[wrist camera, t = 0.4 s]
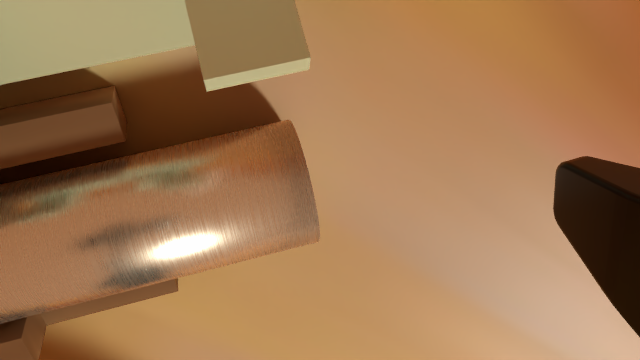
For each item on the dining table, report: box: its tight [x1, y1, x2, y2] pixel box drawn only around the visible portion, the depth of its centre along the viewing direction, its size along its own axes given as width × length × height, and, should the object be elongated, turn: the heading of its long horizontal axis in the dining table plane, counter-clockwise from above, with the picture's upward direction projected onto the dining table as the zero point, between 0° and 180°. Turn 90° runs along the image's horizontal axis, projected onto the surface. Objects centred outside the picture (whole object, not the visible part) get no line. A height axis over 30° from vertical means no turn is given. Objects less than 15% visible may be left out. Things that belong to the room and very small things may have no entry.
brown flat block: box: [0, 86, 178, 360], centre depth 20 cm, size 8×8×4 cm
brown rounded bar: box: [0, 120, 320, 324], centre depth 20 cm, size 15×4×4 cm, turn 97°
